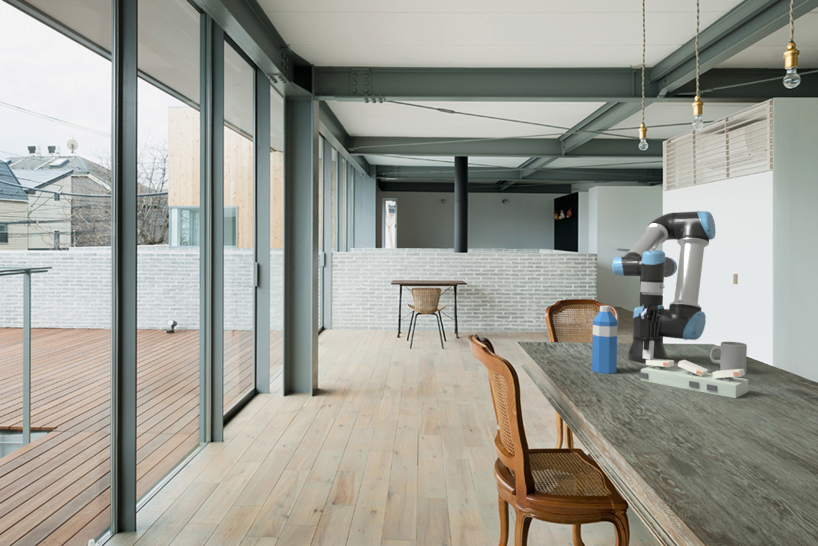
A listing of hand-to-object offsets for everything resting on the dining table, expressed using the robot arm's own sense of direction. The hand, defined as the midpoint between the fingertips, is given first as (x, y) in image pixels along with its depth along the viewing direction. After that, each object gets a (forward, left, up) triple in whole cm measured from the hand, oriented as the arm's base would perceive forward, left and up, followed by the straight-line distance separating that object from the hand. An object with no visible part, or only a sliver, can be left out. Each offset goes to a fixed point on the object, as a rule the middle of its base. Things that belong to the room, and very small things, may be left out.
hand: (647, 358), depth 188 cm
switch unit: (+15, +1, -7) cm, 17 cm away
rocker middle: (+15, +1, -1) cm, 15 cm away
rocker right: (+26, +1, -1) cm, 26 cm away
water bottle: (-16, -1, -7) cm, 18 cm away
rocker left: (+4, +1, -1) cm, 4 cm away
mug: (+15, +35, -7) cm, 38 cm away
